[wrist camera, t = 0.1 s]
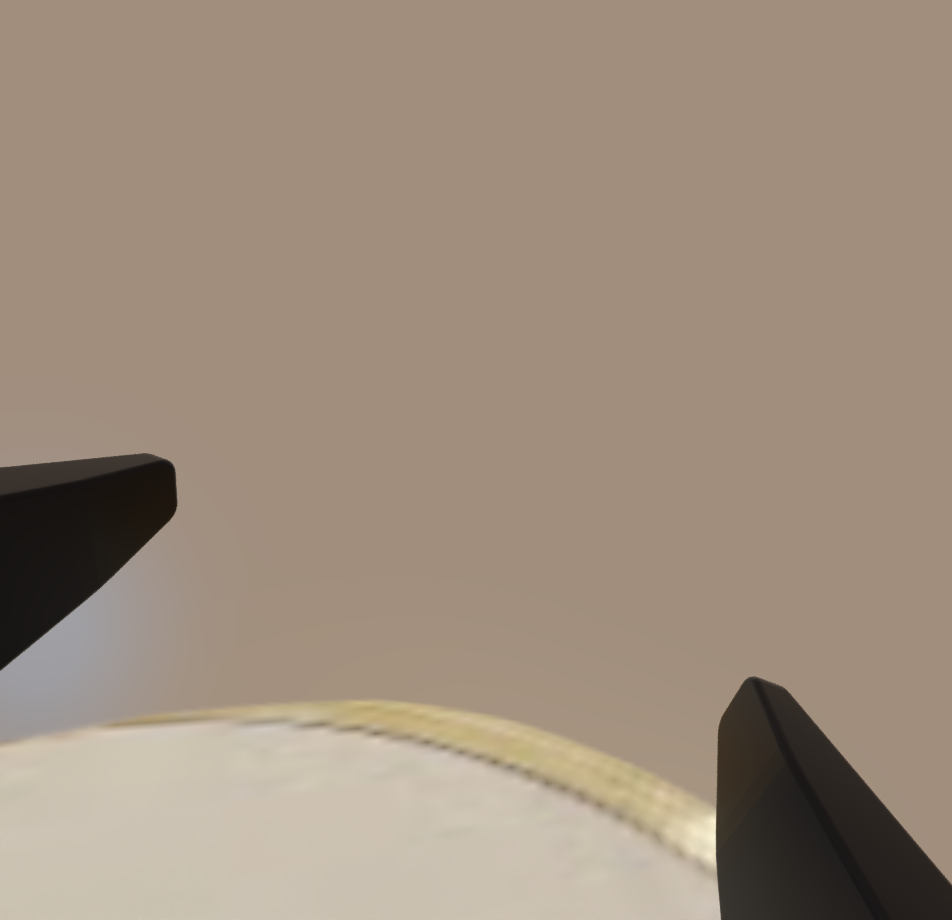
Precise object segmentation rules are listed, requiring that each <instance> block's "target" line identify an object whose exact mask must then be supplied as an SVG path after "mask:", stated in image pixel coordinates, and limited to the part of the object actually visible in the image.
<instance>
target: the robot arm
mask: <svg viewBox="0 0 952 920" xmlns="http://www.w3.org/2000/svg"><path fill="white" fill-rule="evenodd" d="M176 508H177V488H176V472H175V468H174V466H173V464H172V463H171V462H170V461H168V460H166V459H163V458H161V457H158V456H155V455H152V454H146V453H143V454H133V455H123V456H113V457H102V458H92V459H82V460H73V461H63V462H52V463H42V464H32V465H22V466H12V467H2V468H0V671H1V670H2V669H3V668H5V667H6V666H7V665H8V664H9V663H10V662H12V661H13V660H14V659H16V658H17V657H18V656H19V655H20V654H21V653H23V652H24V651H25V650H26V649H28V648H29V647H30V646H31V645H32V644H34V643H35V642H36V641H37V640H39V639H40V638H41V637H42V636H43V635H45V634H46V633H47V632H48V631H49V630H51V629H52V628H53V627H54V626H55V625H57V624H58V623H59V622H60V621H61V620H63V619H64V618H65V617H66V616H68V615H69V614H70V613H71V612H72V611H74V610H75V609H76V608H77V607H79V606H80V605H81V604H82V603H83V602H85V601H86V600H87V599H88V598H89V597H90V596H92V595H93V594H94V593H95V592H96V591H97V590H98V589H100V588H101V587H102V586H103V585H104V584H105V583H106V582H107V581H108V580H109V579H110V578H112V577H113V576H114V575H115V573H117V572H118V571H119V570H120V568H122V567H123V566H124V565H125V564H126V563H127V562H128V561H129V560H130V559H131V558H132V557H133V556H134V555H135V554H136V553H137V552H138V551H139V550H140V549H141V548H142V547H143V546H144V545H145V544H146V543H147V542H148V541H149V540H150V539H151V538H152V537H153V536H154V535H155V534H156V533H157V532H158V531H159V530H160V529H161V528H163V527H164V525H166V524H167V523H168V522H169V521H170V520H171V518H172V517H173V515H174V514H175V512H176ZM716 862H717V878H718V890H719V901H720V913H721V920H952V884H951V883H950V882H949V881H948V880H947V878H945V876H944V875H943V874H942V873H941V871H940V870H939V869H938V868H937V867H936V866H935V864H934V863H933V862H932V861H931V860H930V858H929V857H928V856H927V855H926V854H925V853H924V851H923V850H922V849H921V848H920V847H919V845H918V844H917V843H916V842H915V841H914V840H913V838H912V837H911V836H910V835H909V834H908V833H907V831H906V830H905V829H904V828H903V827H902V826H901V824H900V823H899V822H898V821H897V819H896V818H895V817H894V816H893V815H892V814H891V813H890V811H889V810H888V809H887V808H886V806H885V805H884V804H883V803H882V802H881V801H880V799H879V798H878V797H877V796H876V795H875V793H874V792H873V791H872V790H871V789H870V788H869V786H868V785H867V784H866V783H865V782H864V780H863V779H862V778H861V777H860V776H859V775H858V773H857V772H856V771H855V770H854V769H853V768H852V766H851V765H850V764H849V763H848V762H847V761H846V759H845V758H844V757H843V756H842V755H841V753H840V752H839V751H838V750H837V749H836V747H835V746H834V745H833V744H832V743H831V741H830V740H829V739H828V738H827V737H826V736H825V734H824V733H823V732H822V731H821V730H820V729H819V727H818V726H817V725H816V724H815V723H814V721H813V720H812V719H811V718H810V717H809V715H808V714H807V713H806V712H805V711H804V710H803V708H802V707H801V706H800V705H799V704H798V702H797V701H796V700H795V699H794V698H793V697H792V695H791V694H790V693H789V692H788V691H787V690H786V689H785V688H783V687H782V686H780V685H777V684H774V683H772V682H769V681H766V680H764V679H761V678H758V677H749V678H748V679H746V680H745V681H744V682H743V684H742V685H741V687H740V689H739V690H738V692H737V693H736V695H735V696H734V698H733V700H732V701H731V703H730V704H729V706H728V708H727V709H726V711H725V713H724V714H723V716H722V718H721V721H720V724H719V729H718V756H717V805H716Z"/></svg>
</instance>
